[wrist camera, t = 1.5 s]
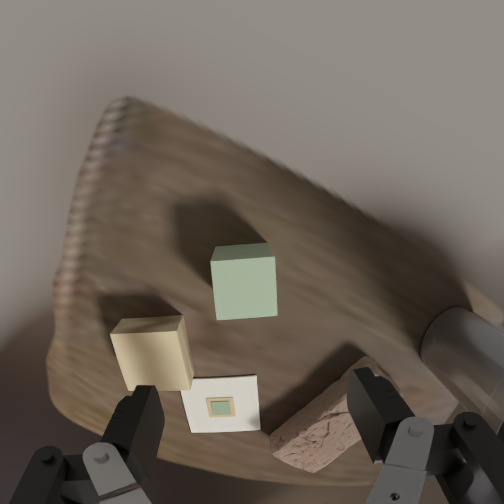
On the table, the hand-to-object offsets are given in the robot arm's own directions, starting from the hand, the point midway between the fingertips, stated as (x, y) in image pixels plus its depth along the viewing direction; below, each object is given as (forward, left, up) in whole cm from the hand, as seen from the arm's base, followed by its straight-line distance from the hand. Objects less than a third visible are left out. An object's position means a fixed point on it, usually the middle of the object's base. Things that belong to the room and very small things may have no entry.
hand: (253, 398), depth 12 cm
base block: (+10, +8, -20) cm, 23 cm away
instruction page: (+4, +17, -19) cm, 26 cm away
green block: (0, 0, -20) cm, 20 cm away
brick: (-10, +20, -20) cm, 30 cm away
